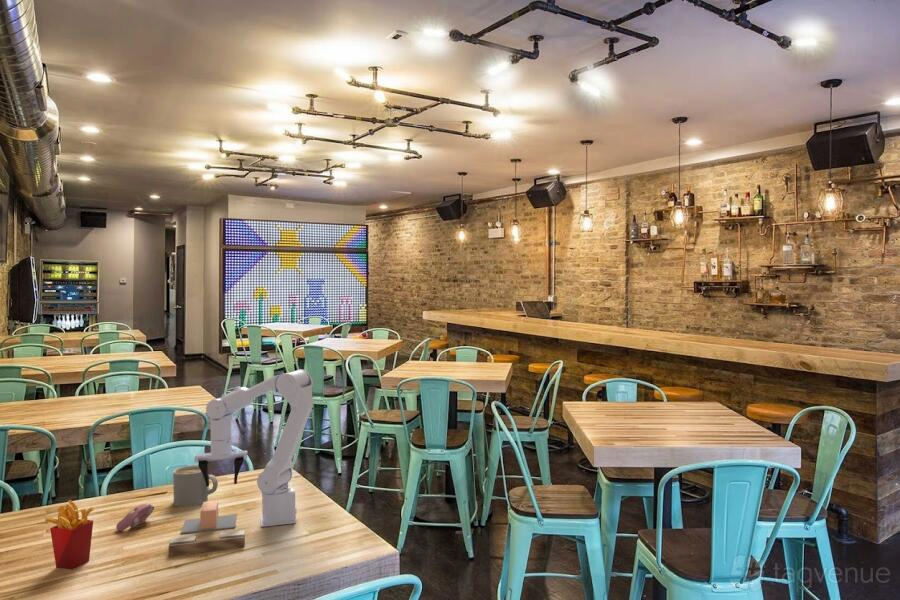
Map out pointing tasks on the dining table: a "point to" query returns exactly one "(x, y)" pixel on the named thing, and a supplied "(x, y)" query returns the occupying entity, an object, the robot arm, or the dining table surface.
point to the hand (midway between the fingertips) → (221, 484)
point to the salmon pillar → (209, 514)
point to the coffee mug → (191, 486)
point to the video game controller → (135, 516)
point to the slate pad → (222, 523)
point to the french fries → (71, 536)
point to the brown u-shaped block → (206, 543)
